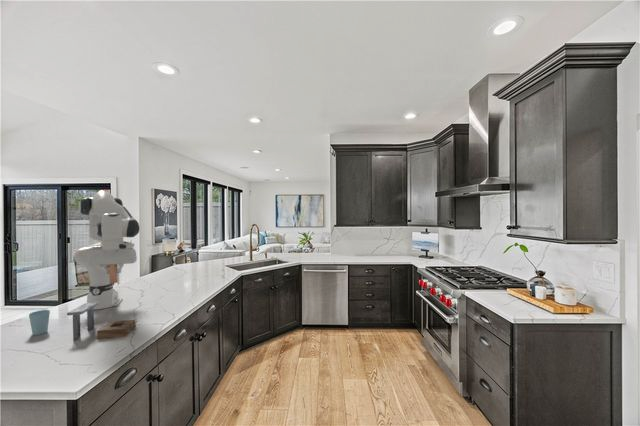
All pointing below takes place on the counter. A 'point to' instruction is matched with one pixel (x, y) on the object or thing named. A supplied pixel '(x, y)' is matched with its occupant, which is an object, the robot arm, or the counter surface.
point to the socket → (116, 329)
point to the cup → (39, 321)
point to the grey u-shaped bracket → (76, 318)
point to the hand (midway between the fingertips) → (113, 273)
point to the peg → (113, 273)
